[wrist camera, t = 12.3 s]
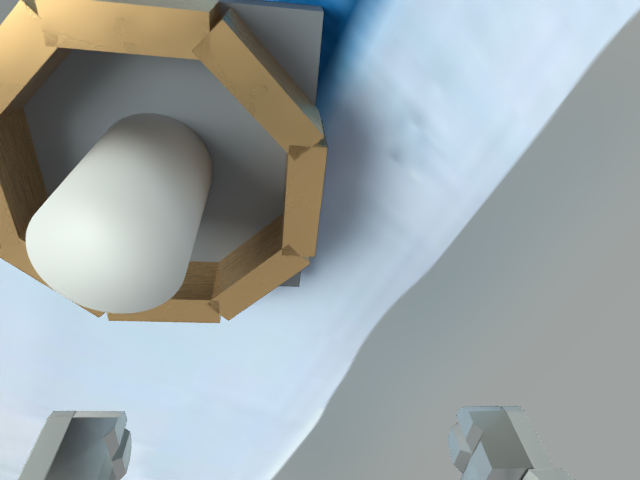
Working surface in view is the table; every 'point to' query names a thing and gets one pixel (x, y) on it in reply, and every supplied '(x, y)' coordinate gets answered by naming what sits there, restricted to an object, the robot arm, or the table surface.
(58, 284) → the piston stand
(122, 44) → the wooden ring
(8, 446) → the table surface
